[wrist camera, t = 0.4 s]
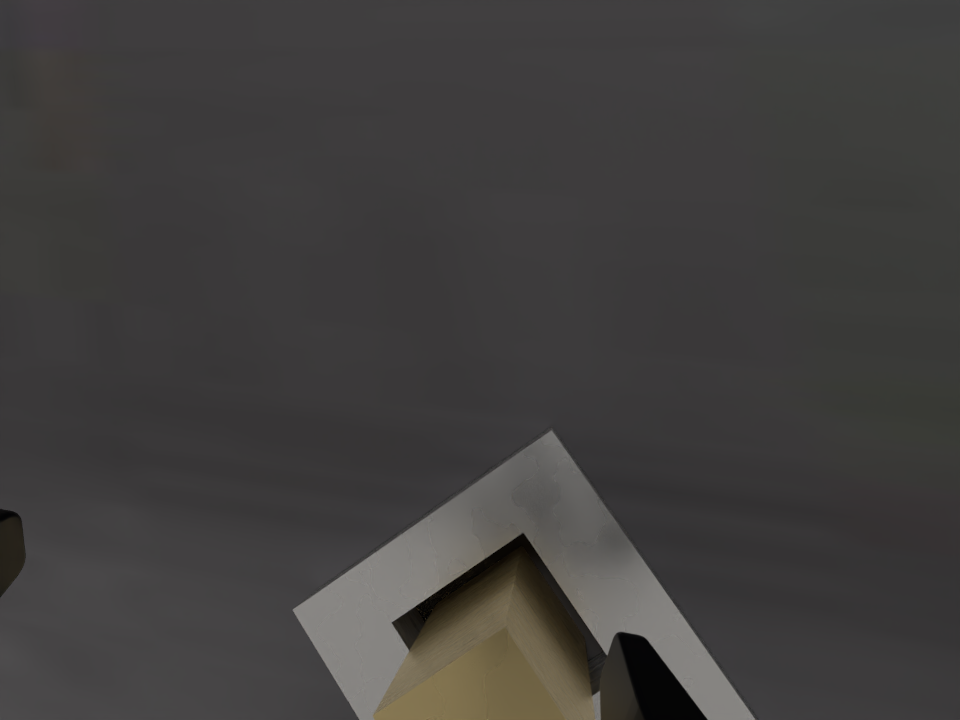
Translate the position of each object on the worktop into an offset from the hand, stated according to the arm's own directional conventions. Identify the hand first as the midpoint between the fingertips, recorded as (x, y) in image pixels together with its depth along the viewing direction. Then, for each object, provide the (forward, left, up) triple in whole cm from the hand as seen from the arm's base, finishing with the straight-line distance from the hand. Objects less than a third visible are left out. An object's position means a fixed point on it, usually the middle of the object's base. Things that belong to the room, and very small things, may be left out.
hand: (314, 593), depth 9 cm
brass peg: (-5, +2, -14) cm, 15 cm away
